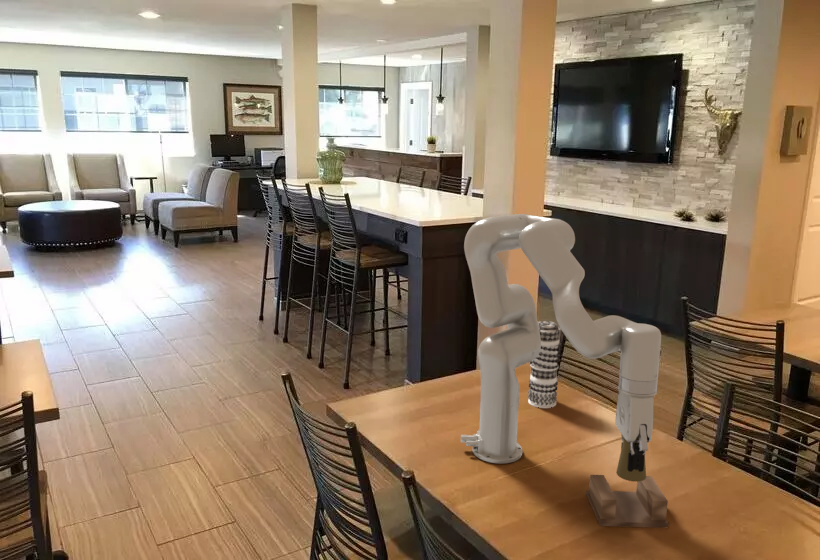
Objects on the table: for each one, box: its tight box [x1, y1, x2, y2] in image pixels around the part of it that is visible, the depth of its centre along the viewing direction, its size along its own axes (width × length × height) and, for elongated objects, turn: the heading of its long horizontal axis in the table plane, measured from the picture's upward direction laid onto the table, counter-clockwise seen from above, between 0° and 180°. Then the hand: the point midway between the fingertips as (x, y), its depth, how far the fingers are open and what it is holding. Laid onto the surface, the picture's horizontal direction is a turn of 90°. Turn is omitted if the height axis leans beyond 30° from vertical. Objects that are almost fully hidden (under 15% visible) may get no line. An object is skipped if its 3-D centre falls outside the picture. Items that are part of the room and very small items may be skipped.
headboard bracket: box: [585, 474, 670, 528], centre depth 139 cm, size 14×12×6 cm
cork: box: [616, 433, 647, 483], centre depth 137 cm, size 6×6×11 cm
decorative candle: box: [527, 320, 563, 409], centre depth 193 cm, size 9×9×25 cm
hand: (631, 464), depth 137 cm, fingers closed on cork, 4 cm apart
